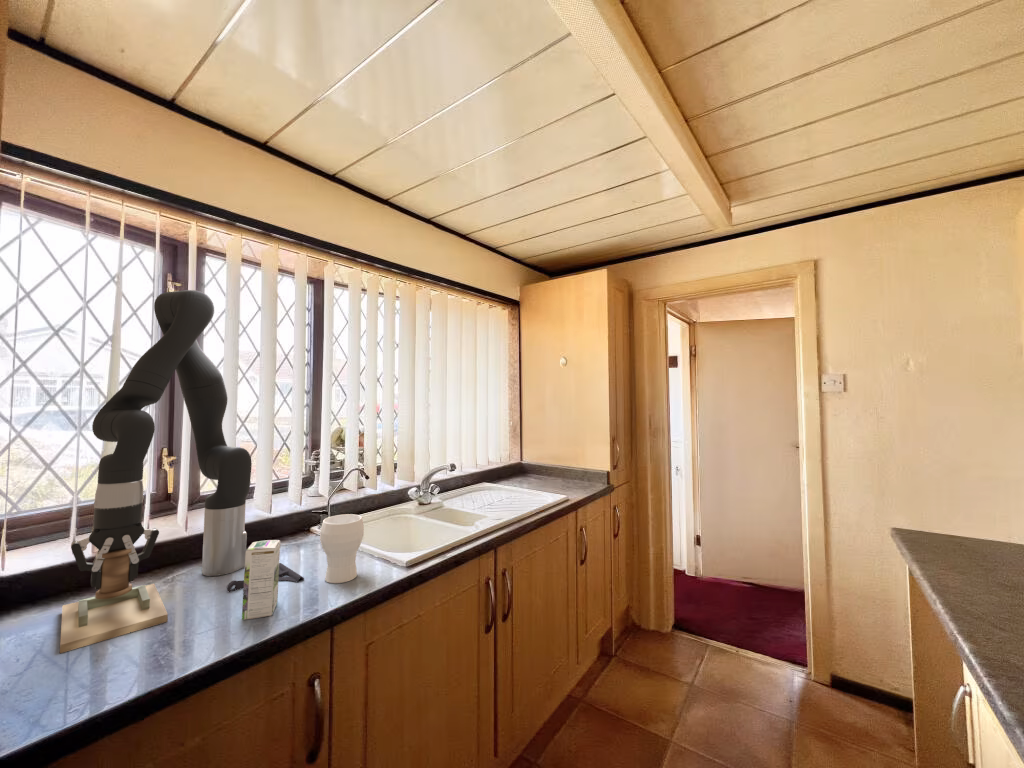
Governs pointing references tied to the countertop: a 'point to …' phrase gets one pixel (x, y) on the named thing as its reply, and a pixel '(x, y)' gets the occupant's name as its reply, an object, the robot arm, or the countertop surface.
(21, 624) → the countertop surface
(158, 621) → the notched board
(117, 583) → the wooden bobbin
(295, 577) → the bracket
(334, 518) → the cup
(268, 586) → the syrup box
